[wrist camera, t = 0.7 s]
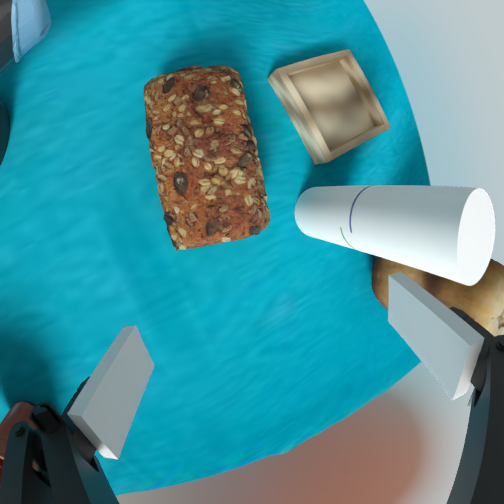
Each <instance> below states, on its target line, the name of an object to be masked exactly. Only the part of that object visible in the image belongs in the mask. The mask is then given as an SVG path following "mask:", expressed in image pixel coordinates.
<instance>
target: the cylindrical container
mask: <svg viewBox="0 0 504 504" xmlns="http://www.w3.org/2000/svg"><path fill="white" fill-rule="evenodd" d="M295 220H296V223H297V225H298V227H299V228H300V230H301V231H302V232H303V233H305V234H306V235H308V236H311V237H314V238H318V239H321V240H325V241H328V242H332V243H335V244H338V245H342V246H345V247H349V248H352V249H355V250H359V251H362V252H365V253H369V254H372V255H375V256H378V257H382V258H385V259H388V260H391V261H395V262H398V263H401V264H404V265H407V266H410V267H413V268H417V269H420V270H423V271H426V272H429V273H432V274H435V275H438V276H441V277H444V278H447V279H450V280H453V281H456V282H459V283H462V284H465V285H468V286H472V285H474V284H476V283H477V282H478V281H479V280H480V279H481V277H482V276H483V274H484V273H485V271H486V269H487V266H488V264H489V261H490V258H491V255H492V250H493V245H494V238H495V216H494V210H493V206H492V202H491V200H490V198H489V195H488V194H487V193H486V191H484V190H483V189H480V188H468V187H449V186H419V185H357V186H324V187H312V188H309V189H307V190H305V191H304V192H303V193H302V194H301V195H300V196H299V198H298V200H297V202H296V205H295Z"/></svg>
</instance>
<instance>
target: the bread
mask: <svg viewBox="0 0 504 504" xmlns="http://www.w3.org/2000/svg"><path fill="white" fill-rule="evenodd" d="M143 90H144V101H145V112H146V122H147V123H146V125H147V127H146V134H147V138H148V139H149V150H150V151H151V159H152V165H153V167H154V168H155V170H156V182H157V185H158V186H157V192H158V193H159V196H160V200H161V205H162V207H163V210H164V220H165V222H166V224H167V230H168V233H169V236H170V238H171V240H172V243H173V247H175V248H176V251H177V250H185V249H187V248H196V247H202V246H205V245H211V244H218V243H224V242H228V241H234V240H239V239H244V238H247V237H250V236H252V235H254V234H255V235H258V234H259V233H260V232H261V231H262V230H263V229H265V228H268V224H269V222H270V212H269V208H268V206H267V203H266V200H268V198H267V195H266V192H265V188H264V178H263V172H262V170H261V168H262V166H261V162H260V159H259V157H258V149H257V141H256V138H255V136H254V135H253V134H254V132H253V130H252V127H251V123H250V119H249V117H248V113H247V103H246V98H245V94H244V90H243V83H242V81H241V78H240V74H239V72H238V71H237V70H235V69H233V68H231V67H228V66H224V65H219V66H214V67H206V68H201V67H199V66H193V67H188V68H183V69H181V70H178V71H176V72H173V73H169V74H168V75H166V74H161V75H159V76H158V77H157V78H153V79H151V80H150V81H149V82H148V83H147V84H146V85H145V86H144V89H143Z"/></svg>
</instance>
